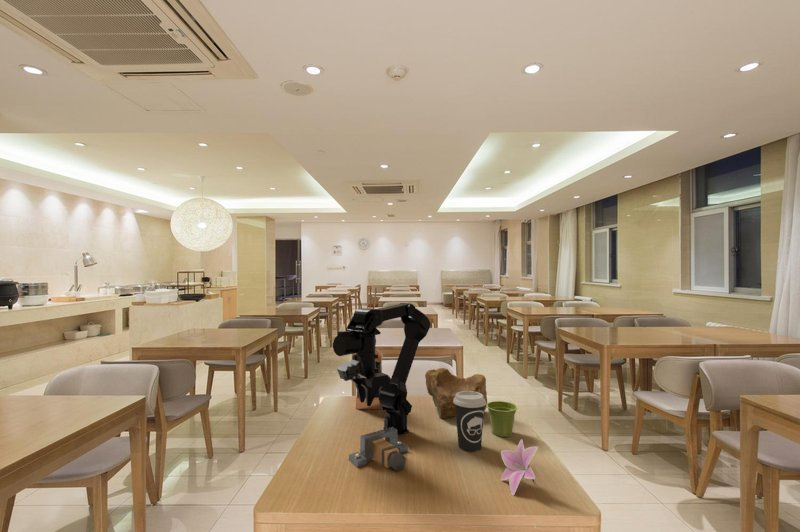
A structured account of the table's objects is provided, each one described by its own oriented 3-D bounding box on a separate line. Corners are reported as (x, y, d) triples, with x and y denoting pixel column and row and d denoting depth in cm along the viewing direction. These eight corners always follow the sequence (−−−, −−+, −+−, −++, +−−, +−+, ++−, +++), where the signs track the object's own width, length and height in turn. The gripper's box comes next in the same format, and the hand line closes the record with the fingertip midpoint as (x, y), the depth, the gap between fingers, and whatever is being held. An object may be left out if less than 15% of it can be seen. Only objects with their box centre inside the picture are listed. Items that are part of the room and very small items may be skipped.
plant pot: (512, 442, 113) (512, 413, 113) (482, 435, 118) (482, 407, 118) (520, 431, 121) (520, 404, 121) (492, 425, 126) (492, 399, 126)
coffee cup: (489, 443, 112) (489, 392, 113) (482, 457, 104) (482, 402, 104) (458, 437, 116) (458, 388, 117) (449, 450, 108) (448, 397, 108)
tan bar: (360, 448, 109) (361, 434, 109) (372, 444, 111) (372, 431, 111) (393, 473, 95) (393, 457, 95) (405, 468, 97) (405, 453, 97)
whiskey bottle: (381, 409, 141) (381, 323, 142) (355, 409, 141) (355, 323, 142) (383, 400, 151) (383, 320, 152) (358, 400, 152) (359, 320, 152)
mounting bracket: (348, 459, 102) (349, 436, 102) (398, 444, 111) (398, 423, 111) (357, 467, 98) (357, 443, 98) (408, 451, 107) (408, 429, 107)
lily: (502, 471, 98) (487, 442, 96) (546, 458, 95) (532, 428, 94) (509, 512, 87) (492, 481, 85) (559, 500, 84) (543, 466, 82)
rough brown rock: (415, 420, 133) (415, 378, 132) (427, 401, 148) (428, 364, 147) (482, 431, 125) (483, 387, 124) (487, 410, 141) (488, 371, 140)
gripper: (327, 348, 115) (327, 400, 114) (356, 360, 100) (356, 419, 99) (359, 345, 121) (359, 394, 121) (391, 355, 106) (391, 411, 105)
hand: (365, 404), depth 111 cm, fingers open, 4 cm apart
